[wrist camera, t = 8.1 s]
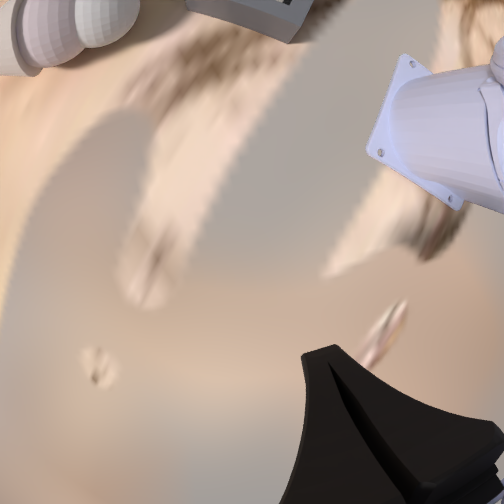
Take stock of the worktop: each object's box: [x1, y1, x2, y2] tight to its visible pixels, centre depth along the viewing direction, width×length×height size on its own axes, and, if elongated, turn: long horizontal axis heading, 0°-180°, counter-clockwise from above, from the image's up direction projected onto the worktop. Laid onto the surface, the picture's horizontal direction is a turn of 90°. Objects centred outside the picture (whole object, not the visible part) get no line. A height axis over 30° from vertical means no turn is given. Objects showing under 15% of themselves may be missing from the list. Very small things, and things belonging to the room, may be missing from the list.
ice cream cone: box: [0, 0, 140, 77], centre depth 10 cm, size 6×6×15 cm
